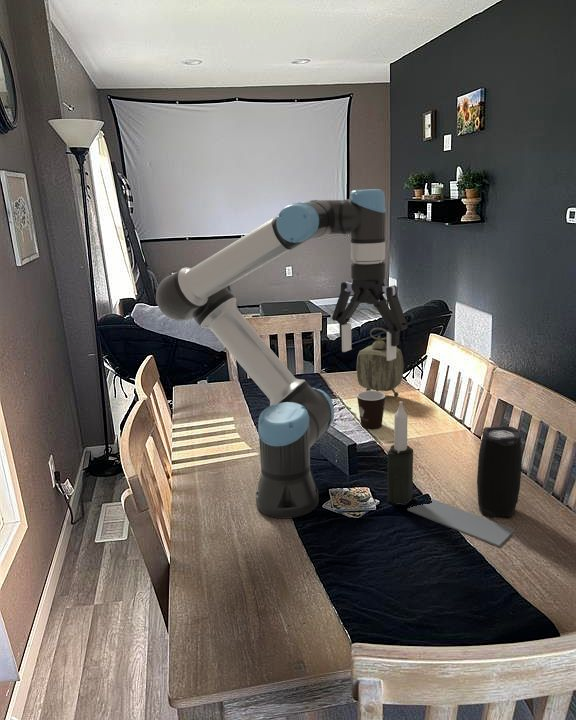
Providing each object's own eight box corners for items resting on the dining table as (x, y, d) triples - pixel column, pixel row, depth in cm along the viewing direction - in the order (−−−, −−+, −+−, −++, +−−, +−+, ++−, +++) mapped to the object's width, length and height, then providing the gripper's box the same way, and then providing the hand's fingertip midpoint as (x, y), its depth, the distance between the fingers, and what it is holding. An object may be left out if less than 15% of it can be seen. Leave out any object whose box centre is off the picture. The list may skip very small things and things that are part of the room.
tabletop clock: (403, 396, 207) (404, 327, 200) (393, 404, 200) (393, 333, 193) (365, 390, 215) (365, 323, 207) (354, 398, 207) (353, 329, 200)
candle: (386, 502, 139) (386, 403, 132) (393, 492, 143) (393, 396, 136) (407, 507, 137) (408, 406, 130) (413, 496, 141) (415, 399, 134)
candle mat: (499, 547, 120) (499, 545, 120) (407, 510, 135) (407, 508, 135) (514, 531, 125) (514, 529, 125) (424, 497, 140) (424, 496, 140)
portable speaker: (468, 510, 134) (471, 431, 129) (492, 496, 139) (497, 420, 134) (501, 526, 127) (506, 443, 122) (525, 511, 133) (531, 431, 127)
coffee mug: (387, 430, 179) (387, 399, 176) (358, 431, 179) (358, 400, 177) (382, 416, 190) (382, 387, 187) (355, 417, 190) (355, 388, 188)
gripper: (425, 262, 125) (422, 359, 131) (336, 256, 141) (337, 343, 147) (405, 266, 120) (404, 367, 126) (315, 260, 136) (318, 350, 142)
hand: (368, 354), depth 137 cm, fingers open, 12 cm apart
